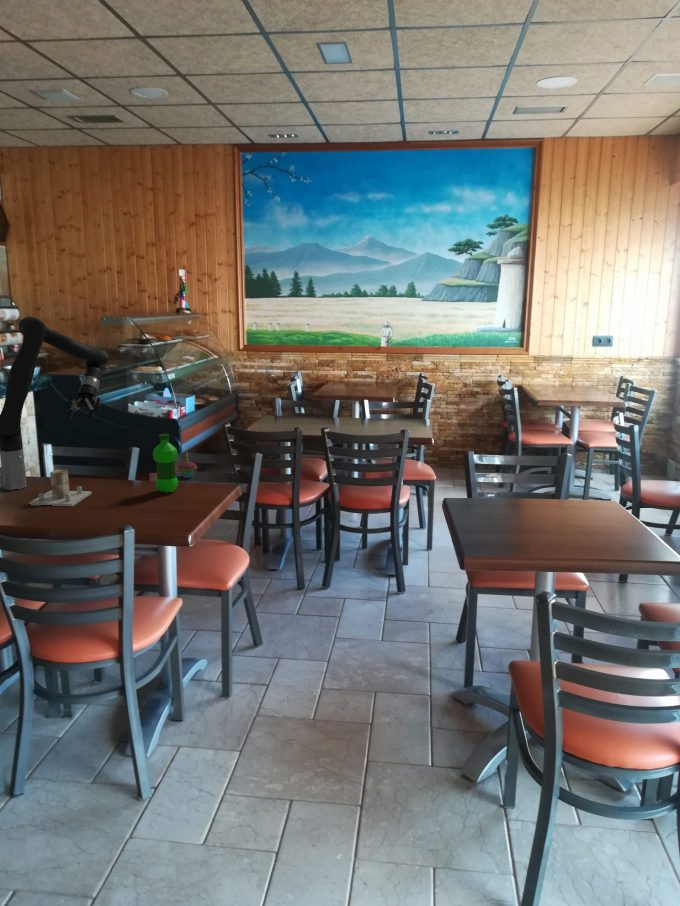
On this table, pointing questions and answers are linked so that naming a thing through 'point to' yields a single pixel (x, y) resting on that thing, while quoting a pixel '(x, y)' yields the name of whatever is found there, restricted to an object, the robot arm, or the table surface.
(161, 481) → the plastic bottle
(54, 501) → the peg plate
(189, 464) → the cupcake
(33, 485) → the table surface
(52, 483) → the birch block
